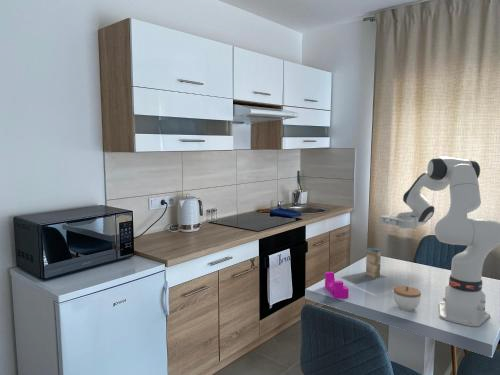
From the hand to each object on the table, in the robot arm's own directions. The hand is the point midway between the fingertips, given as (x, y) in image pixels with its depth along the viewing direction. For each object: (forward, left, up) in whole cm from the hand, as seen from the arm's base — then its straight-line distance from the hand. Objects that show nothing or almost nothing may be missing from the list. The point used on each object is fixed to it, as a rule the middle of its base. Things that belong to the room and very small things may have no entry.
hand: (387, 222), depth 203 cm
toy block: (-42, +10, -28) cm, 52 cm away
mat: (-15, +7, -28) cm, 32 cm away
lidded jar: (-40, -21, -28) cm, 54 cm away
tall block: (-8, +4, -27) cm, 29 cm away
